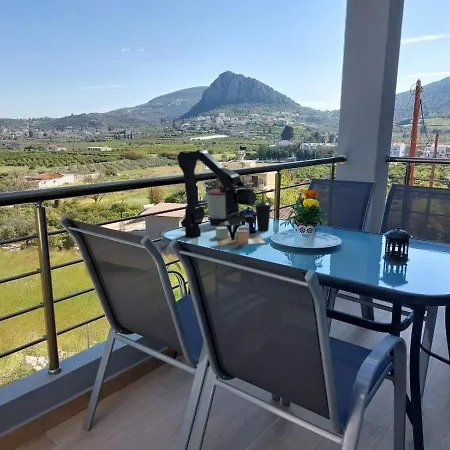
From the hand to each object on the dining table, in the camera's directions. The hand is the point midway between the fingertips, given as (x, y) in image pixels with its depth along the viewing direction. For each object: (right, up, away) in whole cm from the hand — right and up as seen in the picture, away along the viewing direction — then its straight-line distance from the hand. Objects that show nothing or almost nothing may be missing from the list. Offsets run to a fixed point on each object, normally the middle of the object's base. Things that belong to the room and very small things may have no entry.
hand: (232, 239), depth 173 cm
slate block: (+5, +1, +10) cm, 12 cm away
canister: (-4, +7, +42) cm, 43 cm away
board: (+3, -1, +5) cm, 6 cm away
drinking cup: (+15, +3, +21) cm, 26 cm away
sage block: (-5, +1, +9) cm, 10 cm away
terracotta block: (+4, -1, +1) cm, 4 cm away
